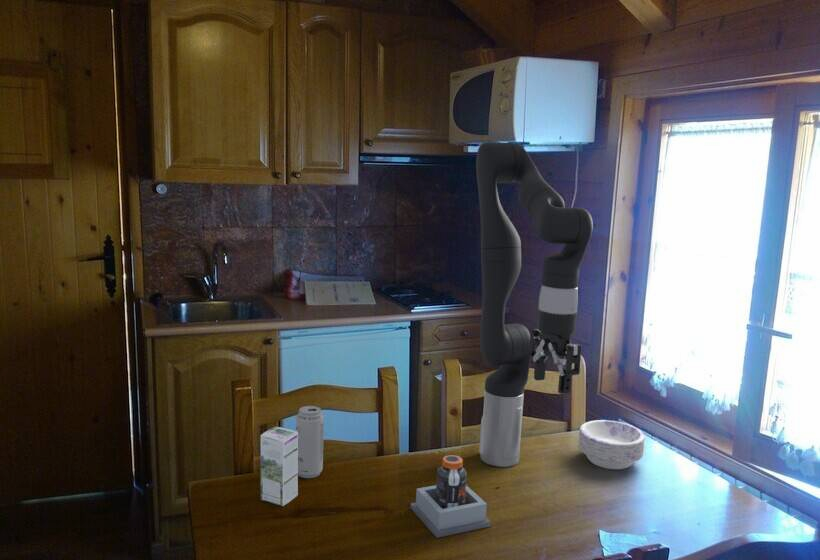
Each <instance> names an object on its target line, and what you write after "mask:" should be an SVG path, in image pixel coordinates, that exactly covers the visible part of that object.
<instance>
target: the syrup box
mask: <svg viewBox="0 0 820 560" xmlns="http://www.w3.org/2000/svg"><path fill="white" fill-rule="evenodd" d="M298 478H299V475H298V432H297V431H296V430H293V429H289V428H284V427H280V426H274V427H272V428H269V429H268V430H266V431H264V432H263V433H262V434H260V501H263V502H266V503H268V504H269V503H270V504H273V505H277V506H280V507H284V506H285V505H287V504H289V503H290V502H291V501H293V500H294V499H295V498H297V497H298V495H299V487H298V486H299V483H298V482H299V481H298V480H299V479H298Z"/></svg>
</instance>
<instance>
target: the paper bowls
mask: <svg viewBox="0 0 820 560" xmlns="http://www.w3.org/2000/svg"><path fill="white" fill-rule="evenodd" d="M578 435H579V436H578V449H579V450H580V451H581V452H582V453H583V454H584V455H586V457H587V460H589V462H591V463H592V464H594V465H595V466H597V467H600V468H603V469H607V470H624V469H627V468H629V467H631V466H632V465H633V463H636V462H637V461H640V460H641V459H643V456H644V453H645V439H646V437H645V434H644V432H643V431H642V430H641V429H639V428H637V427H635V426H634V425H632V424H631V425H630V424H628V423H625V422H621V421H617V420H609V419H608V420H606V419H595V420H590V421H586V422H585V423H582V425H580V427H579V432H578Z"/></svg>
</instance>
